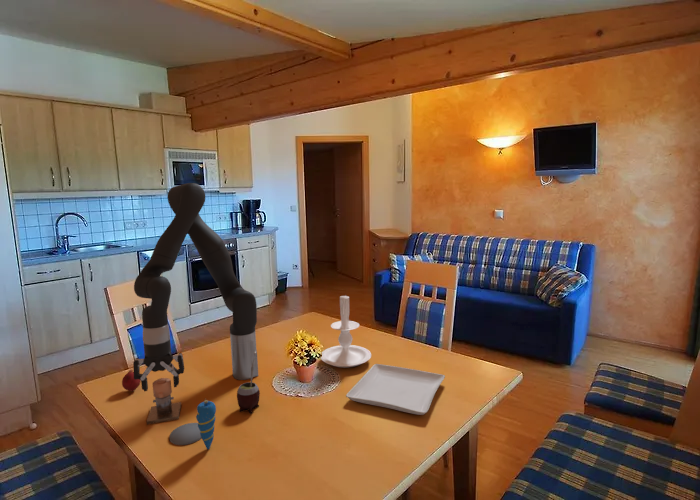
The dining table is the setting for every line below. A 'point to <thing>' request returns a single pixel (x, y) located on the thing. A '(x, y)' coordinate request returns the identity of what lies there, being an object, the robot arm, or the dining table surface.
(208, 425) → the ornament
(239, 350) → the robot arm
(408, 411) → the square plate
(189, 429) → the coaster
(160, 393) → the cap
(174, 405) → the cylinder on square base
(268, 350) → the dining table surface
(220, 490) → the dining table surface
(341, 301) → the candlestick
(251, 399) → the mate gourd
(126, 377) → the onion
